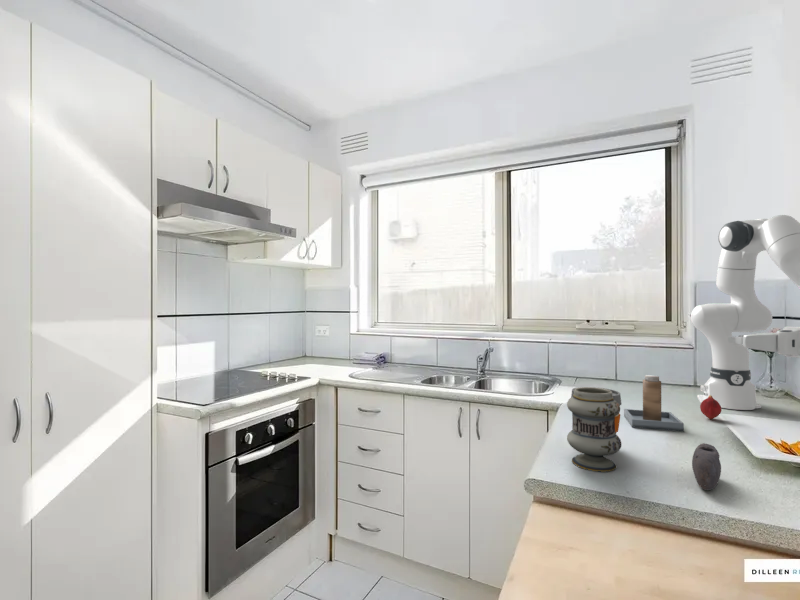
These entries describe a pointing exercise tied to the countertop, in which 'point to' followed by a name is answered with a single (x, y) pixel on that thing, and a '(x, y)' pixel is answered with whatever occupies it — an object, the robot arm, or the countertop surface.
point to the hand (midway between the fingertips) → (734, 338)
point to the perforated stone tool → (706, 466)
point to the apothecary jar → (593, 428)
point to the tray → (666, 421)
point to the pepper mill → (651, 398)
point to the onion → (710, 407)
